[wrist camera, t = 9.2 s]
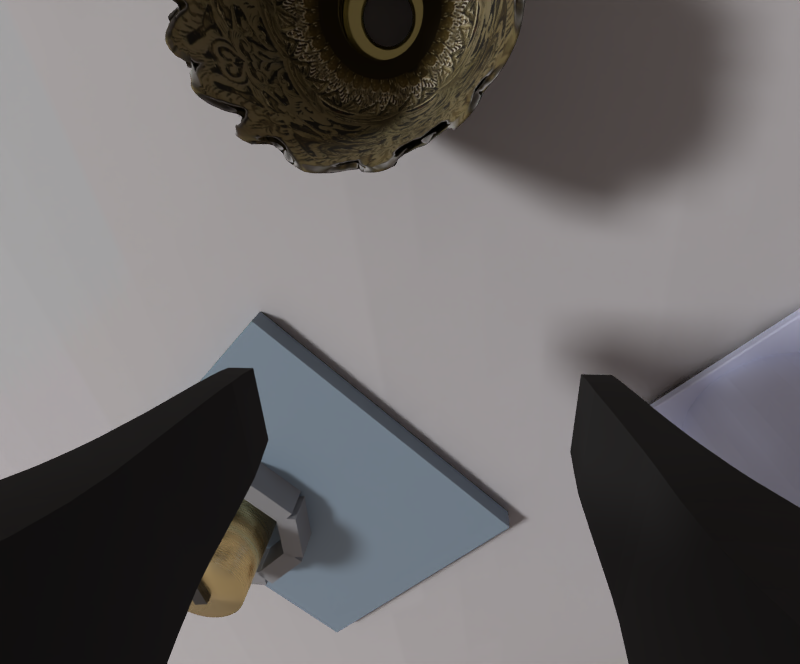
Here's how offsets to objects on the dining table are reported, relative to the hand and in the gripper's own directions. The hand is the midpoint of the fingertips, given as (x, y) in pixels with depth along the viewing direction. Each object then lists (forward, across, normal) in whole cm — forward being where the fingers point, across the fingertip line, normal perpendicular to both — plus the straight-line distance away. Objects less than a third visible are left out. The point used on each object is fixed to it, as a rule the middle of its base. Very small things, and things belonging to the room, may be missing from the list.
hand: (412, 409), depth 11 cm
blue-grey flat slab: (+10, +7, +13) cm, 18 cm away
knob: (+9, +11, +14) cm, 19 cm away
